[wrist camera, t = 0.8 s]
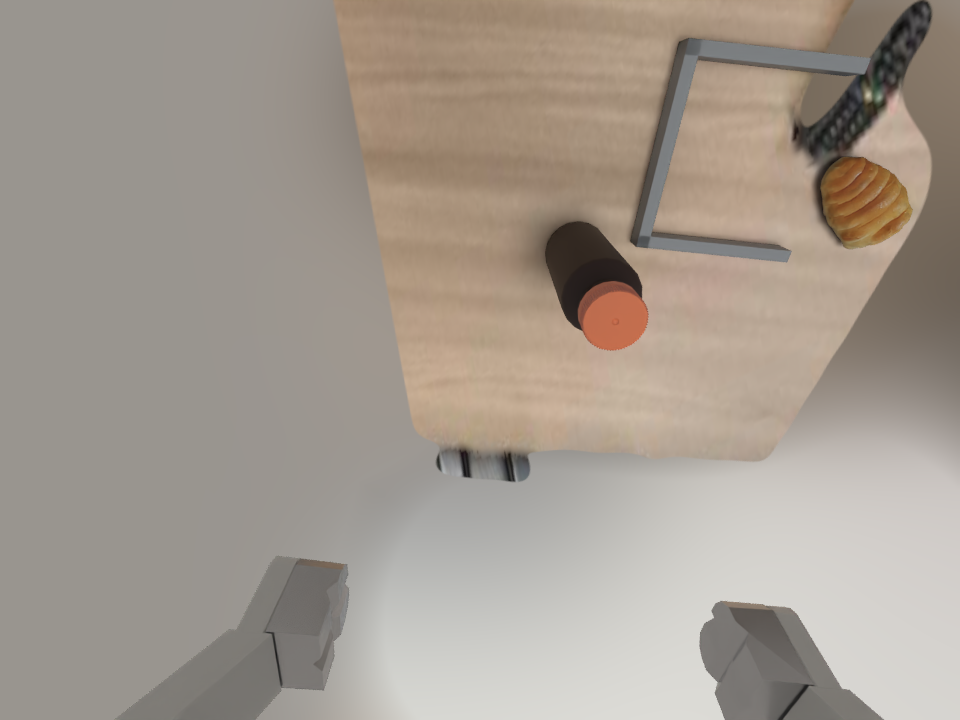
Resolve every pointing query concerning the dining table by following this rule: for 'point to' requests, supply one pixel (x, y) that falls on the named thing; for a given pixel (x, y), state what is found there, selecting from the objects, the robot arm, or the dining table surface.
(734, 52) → the corral
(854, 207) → the pastry
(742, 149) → the dining table surface
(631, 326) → the bottle
